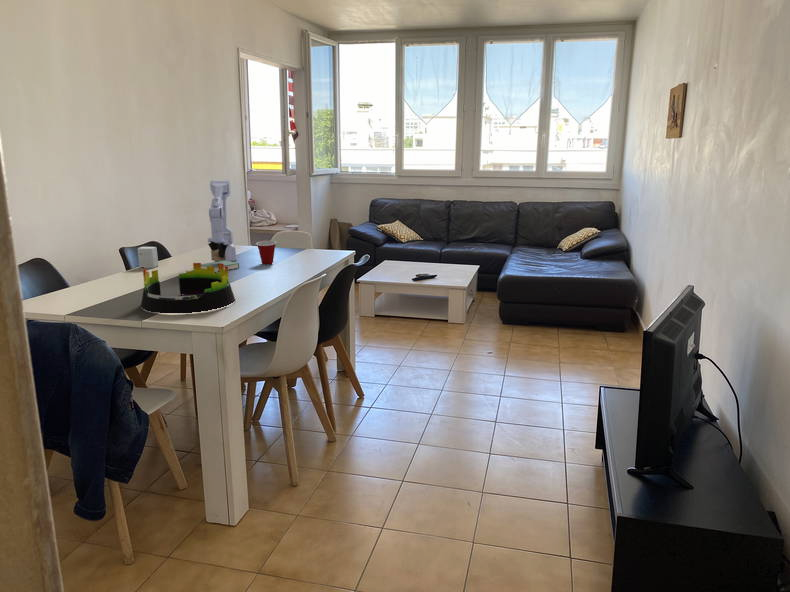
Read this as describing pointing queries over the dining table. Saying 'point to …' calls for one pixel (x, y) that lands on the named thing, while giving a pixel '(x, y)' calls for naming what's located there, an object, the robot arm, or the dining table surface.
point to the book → (226, 263)
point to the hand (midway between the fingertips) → (218, 257)
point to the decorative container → (190, 291)
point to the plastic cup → (266, 251)
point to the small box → (147, 257)
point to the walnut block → (216, 256)
